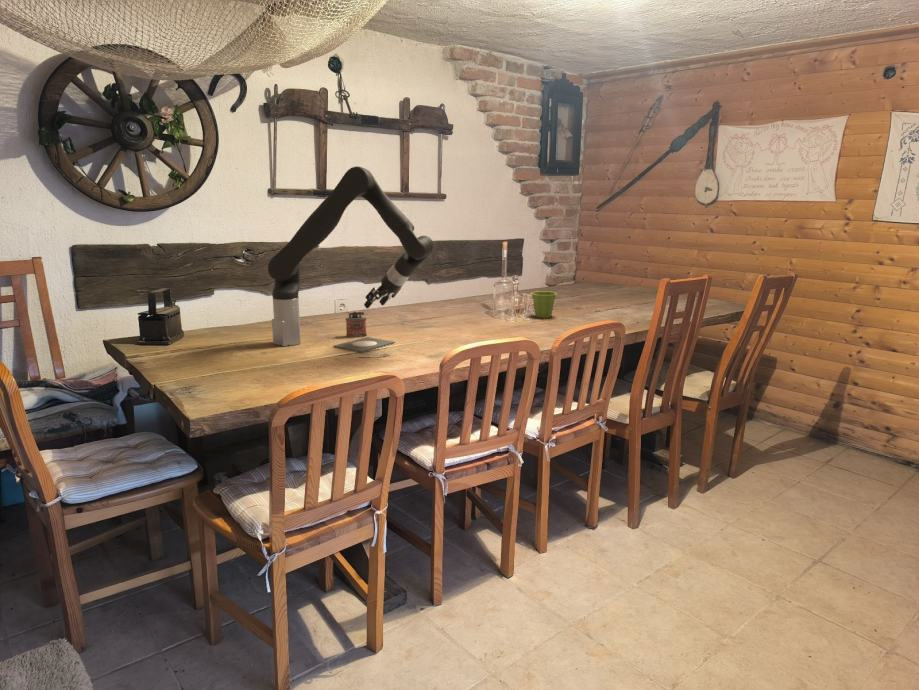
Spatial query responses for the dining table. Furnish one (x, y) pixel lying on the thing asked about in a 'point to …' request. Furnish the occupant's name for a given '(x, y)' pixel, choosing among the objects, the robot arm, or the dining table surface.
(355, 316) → the lighter
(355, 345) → the mat
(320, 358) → the dining table surface
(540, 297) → the plant pot
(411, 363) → the dining table surface
